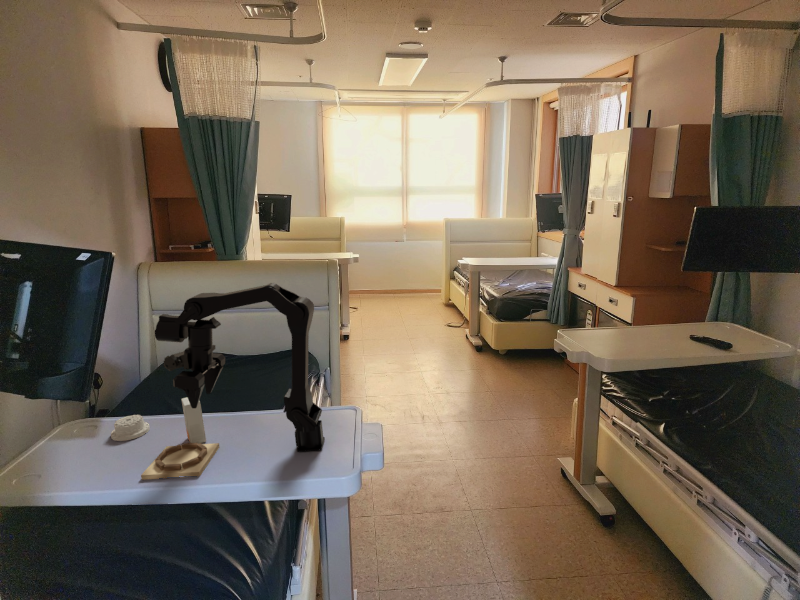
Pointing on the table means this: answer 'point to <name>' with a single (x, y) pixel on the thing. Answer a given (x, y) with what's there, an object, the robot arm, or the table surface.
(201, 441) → the skincare box
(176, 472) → the board
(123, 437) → the mechanical component
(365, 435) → the table surface
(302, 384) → the robot arm
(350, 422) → the table surface
